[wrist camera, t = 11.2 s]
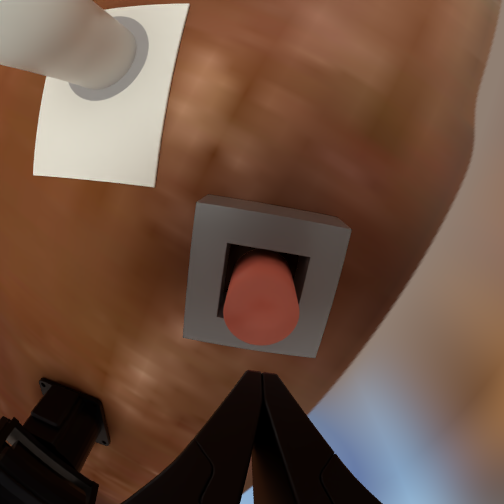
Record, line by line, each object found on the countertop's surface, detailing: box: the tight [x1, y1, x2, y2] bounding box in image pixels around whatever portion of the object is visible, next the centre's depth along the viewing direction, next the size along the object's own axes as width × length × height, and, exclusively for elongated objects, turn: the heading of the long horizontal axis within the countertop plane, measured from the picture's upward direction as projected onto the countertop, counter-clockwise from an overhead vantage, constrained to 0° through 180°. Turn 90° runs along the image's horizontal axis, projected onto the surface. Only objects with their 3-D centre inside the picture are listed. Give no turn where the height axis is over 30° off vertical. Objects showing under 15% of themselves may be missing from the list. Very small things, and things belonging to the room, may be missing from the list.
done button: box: [223, 249, 299, 345], centre depth 14 cm, size 3×3×4 cm
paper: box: [33, 4, 190, 187], centre depth 14 cm, size 11×9×1 cm
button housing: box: [183, 194, 352, 358], centre depth 16 cm, size 7×7×3 cm
